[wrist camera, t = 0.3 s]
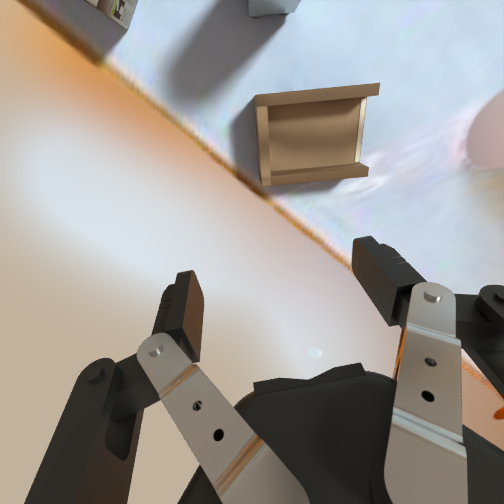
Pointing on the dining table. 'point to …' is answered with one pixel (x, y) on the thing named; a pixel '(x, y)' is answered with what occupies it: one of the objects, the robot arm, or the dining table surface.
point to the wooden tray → (311, 134)
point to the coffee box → (116, 10)
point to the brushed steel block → (271, 7)
